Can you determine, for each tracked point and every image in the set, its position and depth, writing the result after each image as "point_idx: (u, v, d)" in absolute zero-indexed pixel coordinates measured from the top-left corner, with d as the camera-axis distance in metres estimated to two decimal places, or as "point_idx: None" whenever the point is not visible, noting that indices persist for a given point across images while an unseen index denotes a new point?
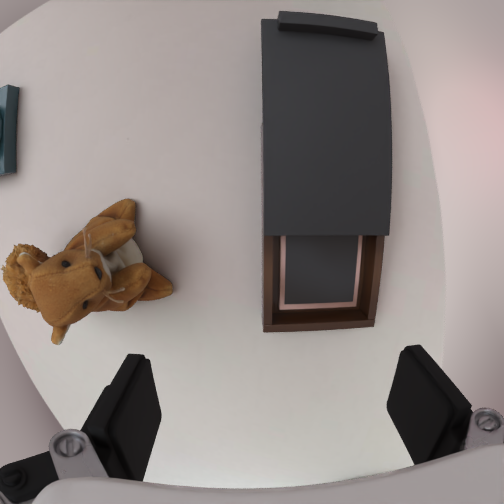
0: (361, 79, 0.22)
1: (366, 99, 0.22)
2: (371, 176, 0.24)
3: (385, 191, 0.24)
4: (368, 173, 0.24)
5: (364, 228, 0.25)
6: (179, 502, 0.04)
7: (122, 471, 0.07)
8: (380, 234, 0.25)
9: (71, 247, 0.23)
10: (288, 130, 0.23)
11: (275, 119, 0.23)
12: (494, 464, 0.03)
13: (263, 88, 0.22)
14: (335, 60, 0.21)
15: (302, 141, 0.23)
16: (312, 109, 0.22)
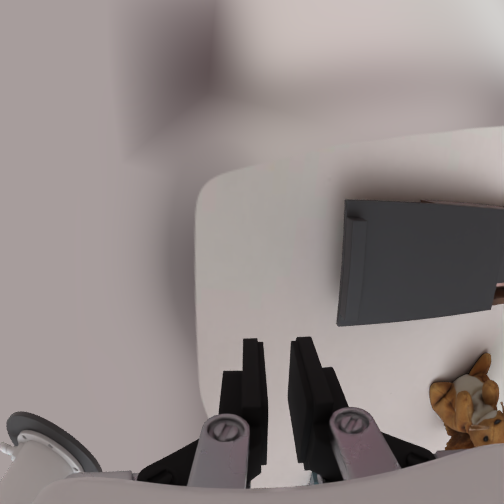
0: (403, 233, 0.24)
1: (420, 230, 0.24)
2: (474, 227, 0.24)
3: (483, 214, 0.23)
4: (472, 230, 0.24)
5: (501, 233, 0.24)
6: (179, 502, 0.04)
7: None
8: None
9: (460, 428, 0.28)
10: (437, 299, 0.25)
11: (428, 309, 0.26)
12: (494, 464, 0.03)
13: (403, 320, 0.26)
14: (385, 259, 0.24)
15: (446, 287, 0.25)
16: (426, 280, 0.25)
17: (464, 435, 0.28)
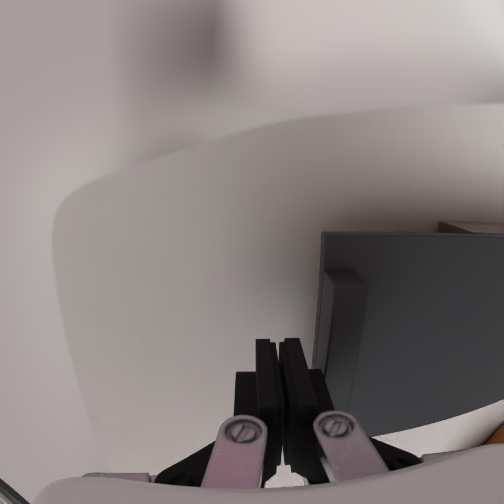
0: (436, 296, 0.12)
1: (466, 286, 0.11)
2: None
3: None
4: None
5: None
6: (179, 502, 0.04)
7: None
8: None
9: None
10: (474, 389, 0.13)
11: (458, 406, 0.13)
12: (494, 464, 0.03)
13: None
14: (398, 344, 0.12)
15: (490, 371, 0.13)
16: (462, 368, 0.13)
17: None
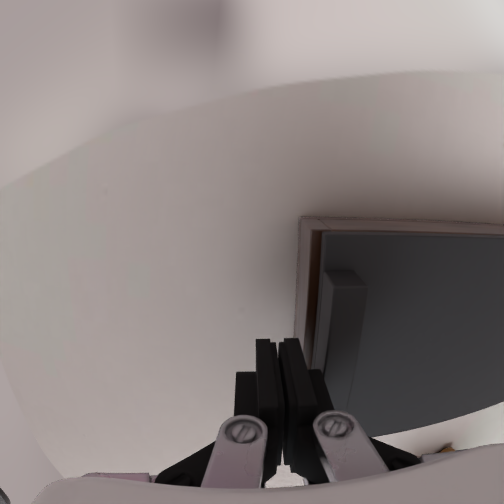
0: (437, 297, 0.11)
1: (468, 287, 0.11)
2: None
3: None
4: None
5: None
6: (179, 502, 0.04)
7: None
8: None
9: None
10: (475, 391, 0.13)
11: (458, 407, 0.13)
12: (494, 464, 0.03)
13: (416, 426, 0.14)
14: (398, 345, 0.12)
15: (491, 373, 0.13)
16: (462, 369, 0.12)
17: None
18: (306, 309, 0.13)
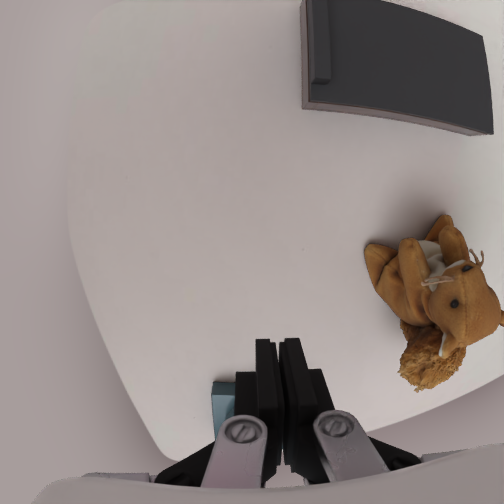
0: (369, 19, 0.19)
1: (388, 21, 0.19)
2: (448, 36, 0.19)
3: (455, 28, 0.19)
4: (447, 38, 0.19)
5: (482, 54, 0.19)
6: (179, 502, 0.04)
7: None
8: (483, 42, 0.19)
9: (416, 308, 0.23)
10: (425, 95, 0.21)
11: (418, 104, 0.21)
12: (494, 464, 0.03)
13: (390, 109, 0.21)
14: (354, 37, 0.20)
15: (432, 85, 0.20)
16: (406, 69, 0.20)
17: (428, 329, 0.23)
18: (306, 21, 0.20)
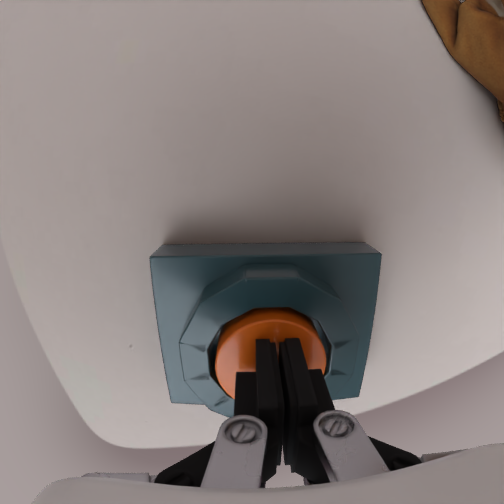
0: None
1: None
2: None
3: None
4: None
5: None
6: (179, 502, 0.04)
7: None
8: None
9: None
10: None
11: None
12: (494, 464, 0.03)
13: None
14: None
15: None
16: None
17: None
18: None
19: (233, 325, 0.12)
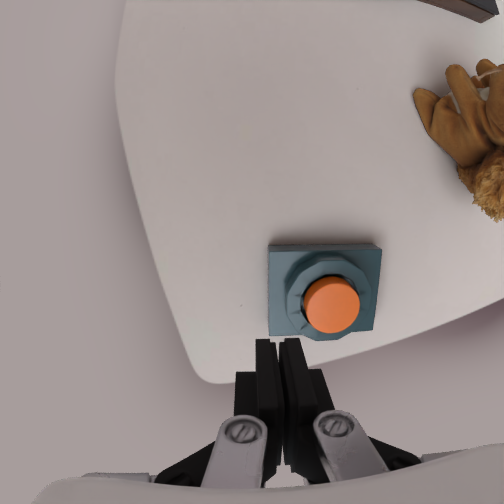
0: None
1: None
2: None
3: None
4: None
5: None
6: (179, 502, 0.04)
7: None
8: None
9: (476, 127, 0.19)
10: None
11: None
12: (494, 464, 0.03)
13: None
14: None
15: None
16: None
17: (490, 153, 0.20)
18: None
19: (315, 287, 0.25)
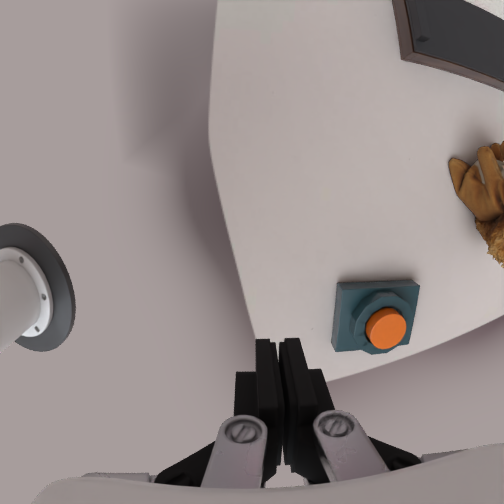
0: (442, 5, 0.23)
1: (452, 7, 0.23)
2: (487, 21, 0.23)
3: (491, 16, 0.23)
4: (487, 22, 0.23)
5: None
6: (179, 502, 0.04)
7: None
8: None
9: (495, 197, 0.27)
10: (479, 57, 0.25)
11: (476, 62, 0.25)
12: (494, 464, 0.03)
13: (461, 63, 0.25)
14: (435, 15, 0.23)
15: (482, 51, 0.24)
16: (466, 39, 0.24)
17: (503, 216, 0.27)
18: (403, 1, 0.24)
19: (377, 316, 0.32)
